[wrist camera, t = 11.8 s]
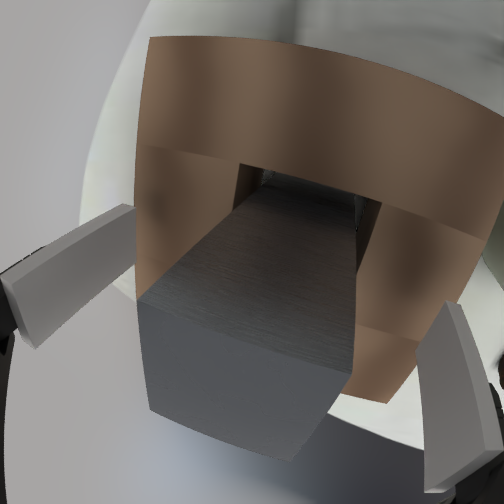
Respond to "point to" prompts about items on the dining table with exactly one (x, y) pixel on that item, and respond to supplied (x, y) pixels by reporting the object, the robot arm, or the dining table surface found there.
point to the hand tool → (501, 372)
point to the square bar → (257, 320)
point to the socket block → (322, 173)
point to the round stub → (496, 248)
